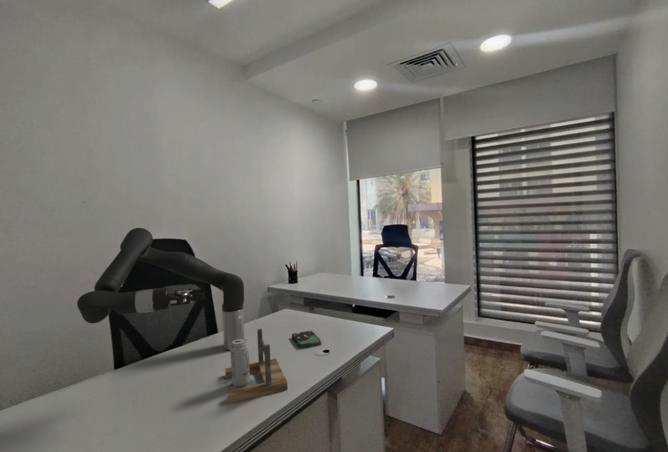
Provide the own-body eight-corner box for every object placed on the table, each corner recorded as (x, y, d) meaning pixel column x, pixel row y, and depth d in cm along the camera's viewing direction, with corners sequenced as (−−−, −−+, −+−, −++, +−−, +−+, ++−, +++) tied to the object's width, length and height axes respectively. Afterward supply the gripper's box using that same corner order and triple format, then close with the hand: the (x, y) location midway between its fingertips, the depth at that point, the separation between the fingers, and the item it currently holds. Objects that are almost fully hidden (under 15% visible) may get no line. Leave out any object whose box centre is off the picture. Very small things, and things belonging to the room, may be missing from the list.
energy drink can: (248, 387, 106) (246, 344, 105) (230, 389, 105) (228, 345, 105) (251, 378, 112) (249, 337, 111) (234, 379, 111) (232, 338, 111)
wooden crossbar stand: (225, 375, 116) (223, 334, 116) (276, 364, 123) (274, 325, 123) (228, 403, 97) (225, 354, 97) (287, 389, 104) (285, 343, 104)
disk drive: (291, 339, 150) (300, 350, 137) (291, 333, 150) (299, 344, 137) (311, 335, 154) (322, 346, 141) (311, 330, 154) (321, 339, 141)
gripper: (157, 306, 111) (205, 299, 117) (149, 316, 98) (205, 309, 104) (155, 285, 111) (204, 280, 117) (148, 293, 98) (204, 287, 104)
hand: (205, 293), depth 110 cm, fingers open, 8 cm apart
